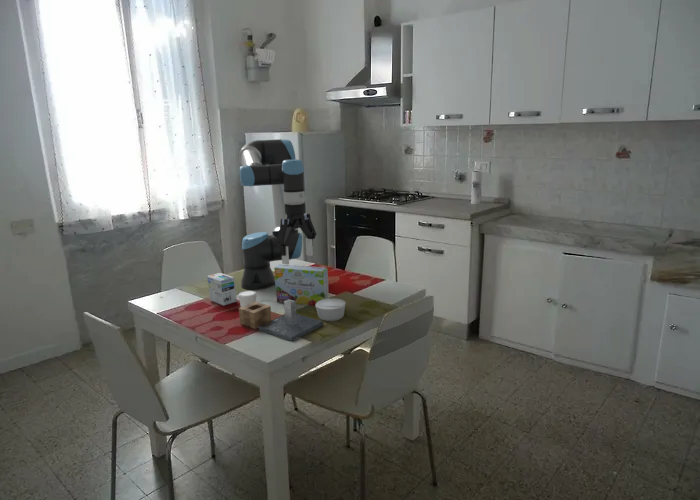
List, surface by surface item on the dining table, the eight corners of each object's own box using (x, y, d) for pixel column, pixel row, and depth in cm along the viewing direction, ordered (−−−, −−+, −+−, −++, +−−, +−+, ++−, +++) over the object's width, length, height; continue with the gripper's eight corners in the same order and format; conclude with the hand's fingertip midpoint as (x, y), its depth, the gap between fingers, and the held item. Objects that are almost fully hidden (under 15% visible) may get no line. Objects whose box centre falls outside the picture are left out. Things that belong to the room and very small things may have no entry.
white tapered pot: (242, 314, 182) (240, 297, 181) (237, 309, 188) (236, 292, 186) (259, 311, 185) (258, 294, 184) (254, 305, 191) (253, 289, 189)
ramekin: (322, 324, 171) (321, 310, 170) (311, 314, 181) (311, 301, 180) (350, 319, 175) (350, 305, 174) (339, 309, 185) (338, 296, 184)
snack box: (275, 302, 194) (273, 267, 190) (282, 298, 199) (279, 263, 196) (324, 307, 188) (323, 270, 184) (329, 302, 193) (328, 266, 189)
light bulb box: (237, 301, 196) (235, 276, 194) (223, 306, 192) (220, 280, 189) (223, 296, 204) (220, 271, 201) (209, 300, 199) (206, 275, 196)
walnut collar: (255, 328, 169) (253, 313, 167) (240, 323, 174) (238, 308, 172) (271, 321, 175) (270, 306, 173) (256, 316, 180) (255, 301, 178)
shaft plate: (258, 330, 168) (256, 303, 165) (290, 315, 180) (289, 290, 177) (291, 341, 158) (290, 313, 156) (323, 325, 170) (322, 298, 168)
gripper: (278, 208, 161) (282, 269, 166) (324, 199, 181) (326, 253, 186) (262, 207, 165) (267, 266, 171) (308, 198, 185) (311, 251, 190)
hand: (298, 259), depth 178 cm, fingers open, 13 cm apart
